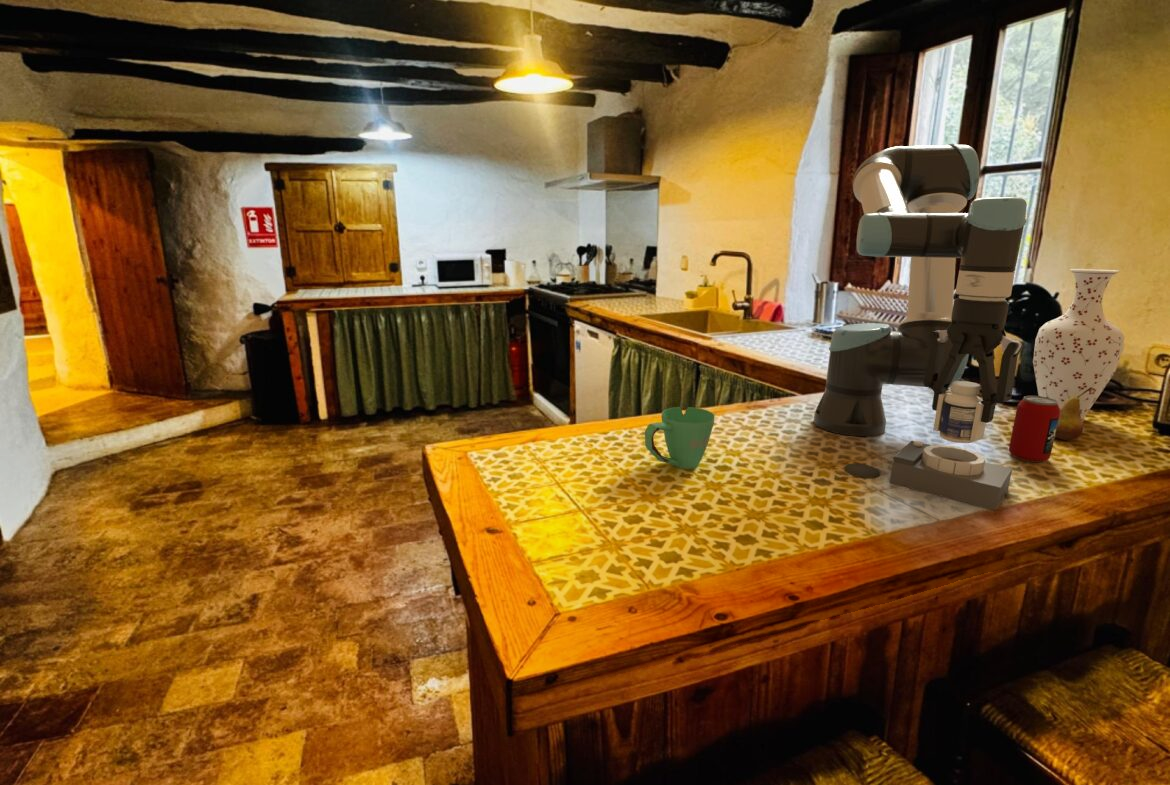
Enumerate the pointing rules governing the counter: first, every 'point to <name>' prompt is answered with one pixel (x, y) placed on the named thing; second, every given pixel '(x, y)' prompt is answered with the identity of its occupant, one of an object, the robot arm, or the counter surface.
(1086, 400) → the vase
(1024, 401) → the beverage can
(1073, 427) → the fruit
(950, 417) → the pill bottle
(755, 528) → the counter surface
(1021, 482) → the counter surface
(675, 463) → the mug
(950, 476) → the camera body
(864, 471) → the lens cap
